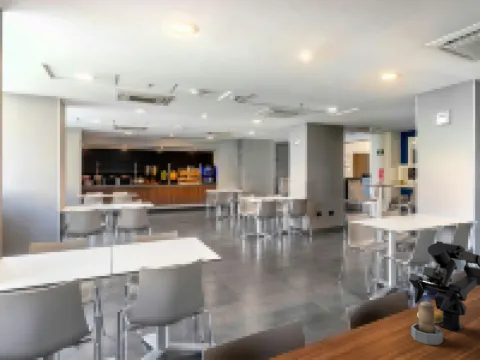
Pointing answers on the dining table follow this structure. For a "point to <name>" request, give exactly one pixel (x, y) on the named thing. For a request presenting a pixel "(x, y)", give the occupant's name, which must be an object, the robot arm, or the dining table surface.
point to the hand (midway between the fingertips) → (427, 306)
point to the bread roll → (435, 317)
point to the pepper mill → (426, 318)
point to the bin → (427, 335)
